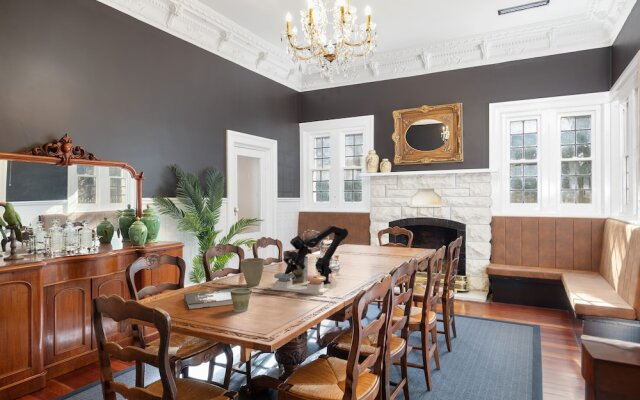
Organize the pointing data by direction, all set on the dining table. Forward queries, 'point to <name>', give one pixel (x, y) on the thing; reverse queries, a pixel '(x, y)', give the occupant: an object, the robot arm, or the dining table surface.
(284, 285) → the key console
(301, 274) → the coffee box
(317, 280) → the brown round domed piece
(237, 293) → the ceramic cup
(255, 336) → the dining table surface
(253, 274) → the plant pot
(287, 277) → the two dot key
